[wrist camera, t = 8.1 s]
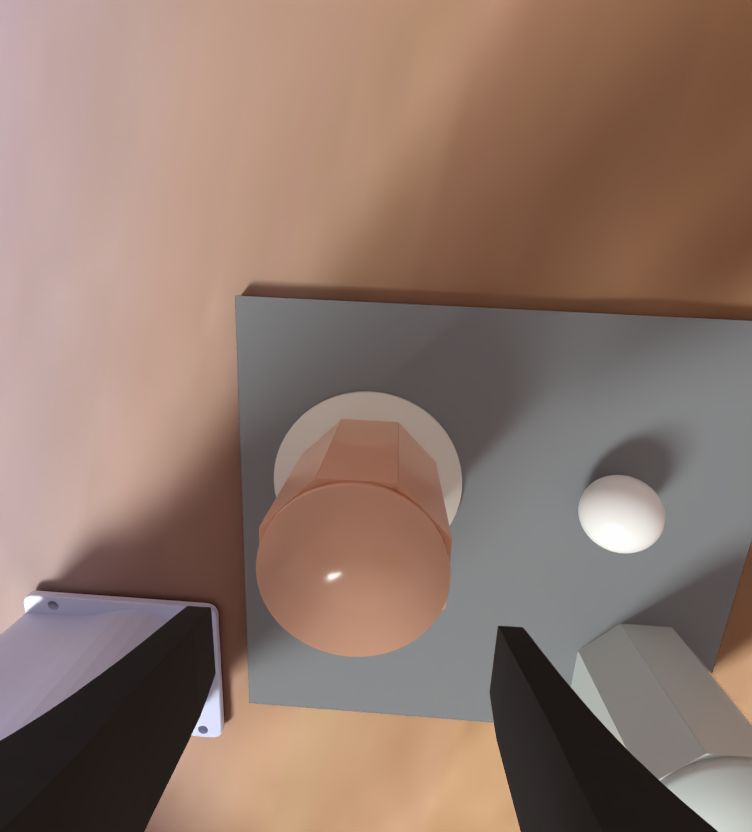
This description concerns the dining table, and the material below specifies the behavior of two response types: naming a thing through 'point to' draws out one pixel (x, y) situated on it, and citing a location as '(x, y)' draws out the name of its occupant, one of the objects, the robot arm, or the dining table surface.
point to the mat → (512, 480)
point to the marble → (621, 514)
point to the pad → (374, 409)
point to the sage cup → (671, 719)
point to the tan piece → (357, 542)
